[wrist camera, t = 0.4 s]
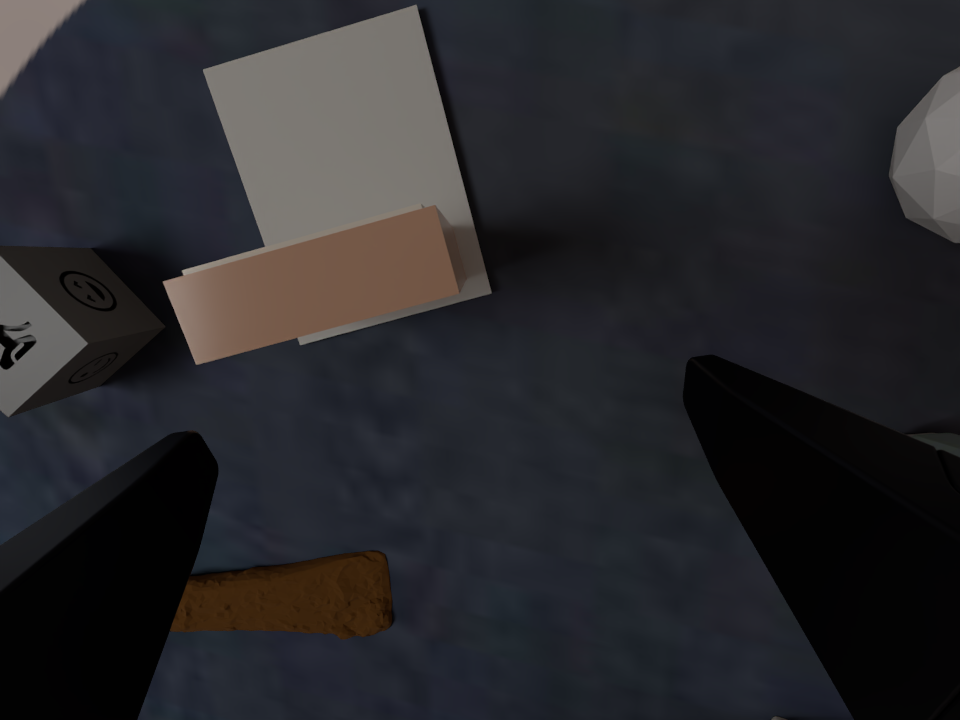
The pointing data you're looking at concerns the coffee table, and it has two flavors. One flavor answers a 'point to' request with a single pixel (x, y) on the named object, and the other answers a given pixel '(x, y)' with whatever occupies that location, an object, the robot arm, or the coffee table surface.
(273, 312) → the tile
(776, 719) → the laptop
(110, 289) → the dice cube
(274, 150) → the mat
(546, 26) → the coffee table surface
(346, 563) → the primitive tool
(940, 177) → the geometric ball
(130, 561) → the robot arm
